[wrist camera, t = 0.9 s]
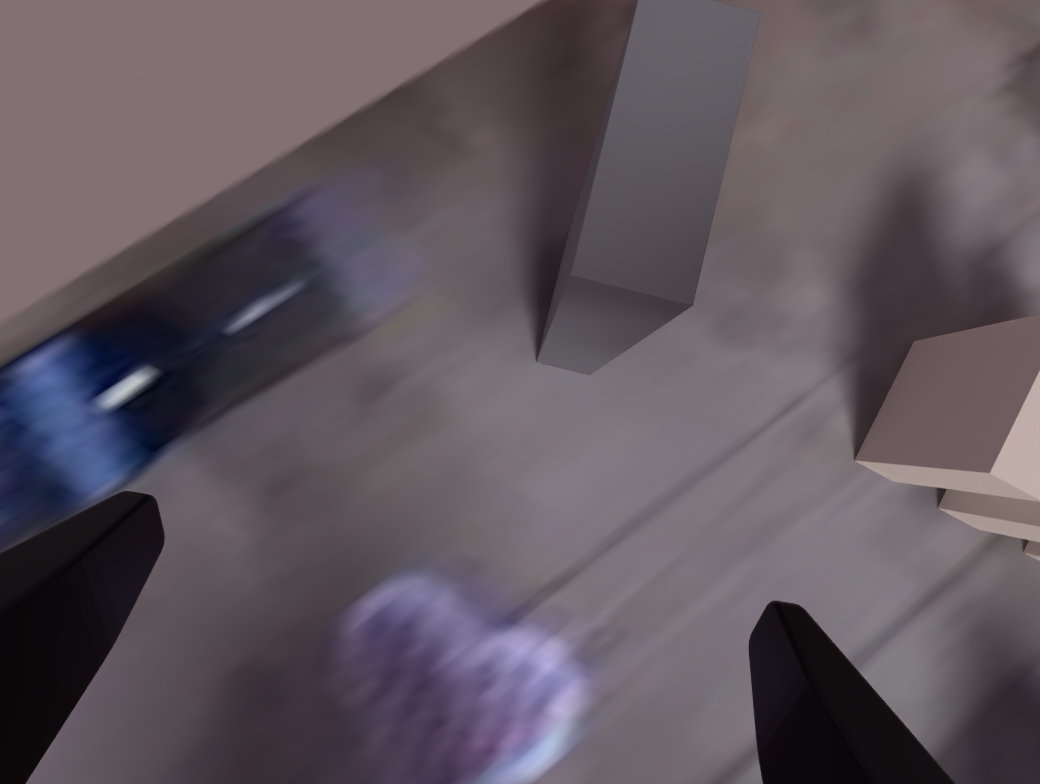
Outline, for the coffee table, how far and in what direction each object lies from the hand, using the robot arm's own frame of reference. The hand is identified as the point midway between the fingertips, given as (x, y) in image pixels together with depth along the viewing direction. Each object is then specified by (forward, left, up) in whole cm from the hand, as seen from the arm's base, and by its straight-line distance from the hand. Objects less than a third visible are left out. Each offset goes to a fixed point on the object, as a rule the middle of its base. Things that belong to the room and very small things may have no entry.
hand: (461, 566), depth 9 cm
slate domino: (+6, -5, -14) cm, 15 cm away
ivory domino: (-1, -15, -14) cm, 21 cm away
